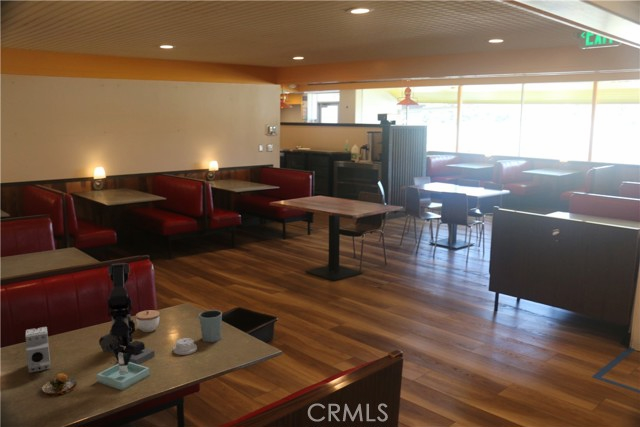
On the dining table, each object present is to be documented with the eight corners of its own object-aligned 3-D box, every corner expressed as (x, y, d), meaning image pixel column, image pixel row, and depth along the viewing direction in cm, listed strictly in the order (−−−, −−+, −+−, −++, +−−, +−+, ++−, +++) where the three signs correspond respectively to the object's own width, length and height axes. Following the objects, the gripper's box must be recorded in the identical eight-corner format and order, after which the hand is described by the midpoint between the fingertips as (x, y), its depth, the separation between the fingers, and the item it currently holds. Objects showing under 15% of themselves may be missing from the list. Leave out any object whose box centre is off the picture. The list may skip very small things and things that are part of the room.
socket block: (118, 360, 222) (118, 354, 222) (137, 351, 231) (137, 345, 230) (136, 365, 218) (136, 360, 217) (154, 356, 226) (154, 350, 226)
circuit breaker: (28, 379, 206) (25, 342, 203) (29, 364, 218) (25, 329, 216) (50, 375, 209) (47, 339, 207) (49, 360, 222) (46, 326, 219)
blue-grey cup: (227, 337, 246) (226, 312, 244) (211, 345, 238) (210, 319, 236) (210, 332, 251) (210, 308, 249) (195, 339, 243) (194, 314, 241)
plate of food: (52, 381, 205) (50, 362, 204) (82, 381, 205) (80, 363, 204) (34, 397, 194) (32, 377, 192) (66, 397, 193) (65, 378, 192)
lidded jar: (139, 325, 259) (138, 307, 258) (162, 324, 261) (161, 306, 259) (134, 334, 249) (133, 315, 247) (158, 333, 250) (157, 314, 248)
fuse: (117, 373, 206) (116, 354, 205) (123, 370, 209) (122, 350, 207) (123, 375, 204) (122, 355, 203) (129, 372, 207) (128, 352, 206)
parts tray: (97, 381, 204) (96, 374, 204) (125, 367, 216) (124, 360, 216) (122, 390, 198) (121, 382, 197) (150, 375, 210) (149, 368, 209)
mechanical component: (169, 354, 229) (191, 356, 227) (168, 344, 228) (190, 346, 226) (179, 344, 238) (200, 346, 236) (179, 335, 238) (200, 337, 236)
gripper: (85, 328, 201) (88, 367, 203) (121, 338, 192) (123, 378, 195) (110, 318, 210) (112, 356, 213) (144, 327, 202) (146, 366, 204)
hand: (123, 364), depth 206 cm, fingers closed on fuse, 3 cm apart
